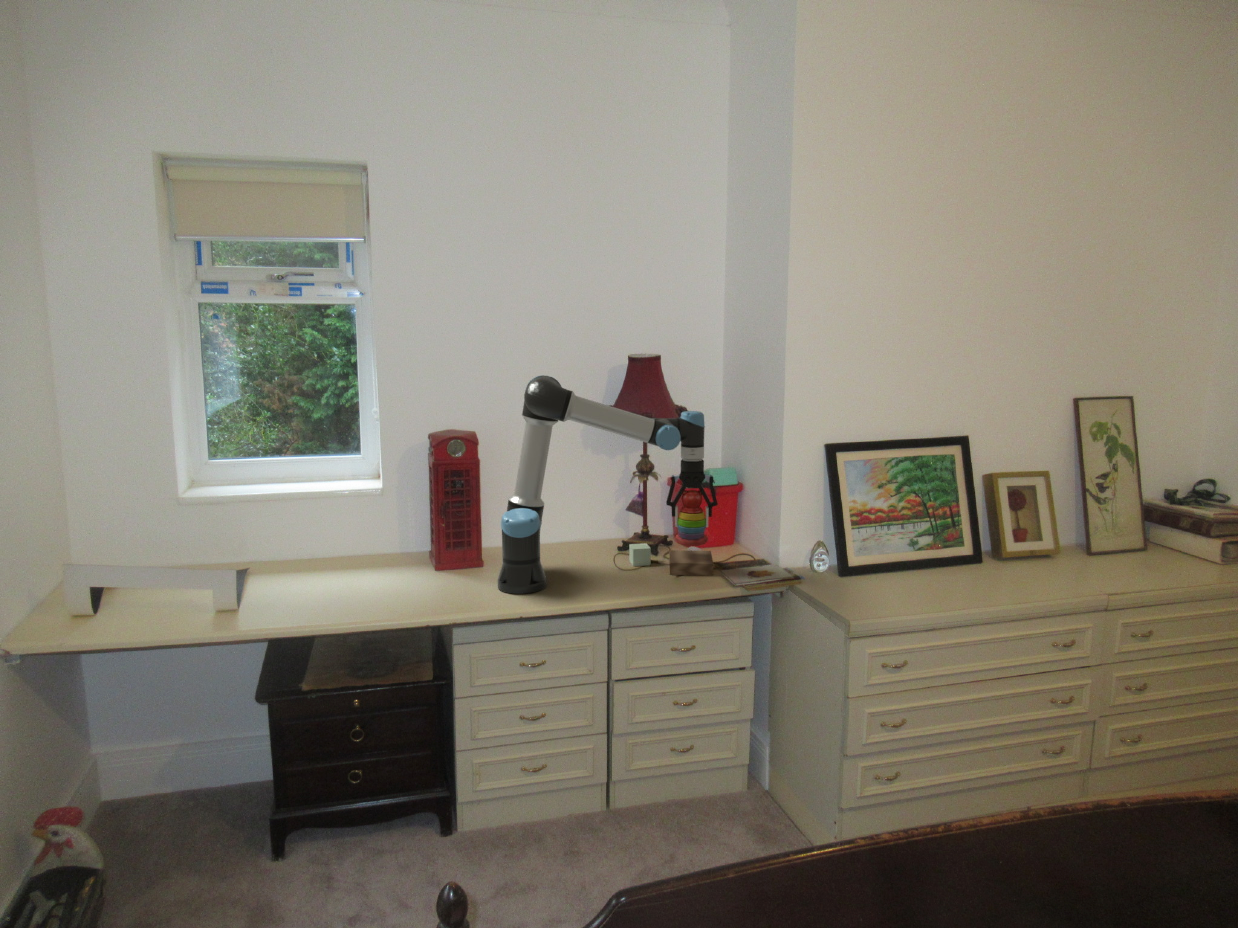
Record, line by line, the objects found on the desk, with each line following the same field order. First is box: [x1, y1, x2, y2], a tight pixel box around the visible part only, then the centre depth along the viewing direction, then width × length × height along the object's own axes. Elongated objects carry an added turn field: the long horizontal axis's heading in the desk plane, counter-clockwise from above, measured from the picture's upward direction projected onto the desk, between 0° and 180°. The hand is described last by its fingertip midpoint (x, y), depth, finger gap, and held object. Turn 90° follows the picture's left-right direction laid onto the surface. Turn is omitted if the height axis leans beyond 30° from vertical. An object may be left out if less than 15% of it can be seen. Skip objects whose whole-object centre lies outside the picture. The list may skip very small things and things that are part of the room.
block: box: [628, 542, 652, 567], centre depth 273 cm, size 6×6×6 cm
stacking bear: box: [674, 489, 709, 547], centre depth 264 cm, size 11×10×18 cm
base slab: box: [668, 549, 714, 576], centre depth 267 cm, size 14×14×4 cm
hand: (691, 526), depth 265 cm, fingers closed on stacking bear, 9 cm apart
